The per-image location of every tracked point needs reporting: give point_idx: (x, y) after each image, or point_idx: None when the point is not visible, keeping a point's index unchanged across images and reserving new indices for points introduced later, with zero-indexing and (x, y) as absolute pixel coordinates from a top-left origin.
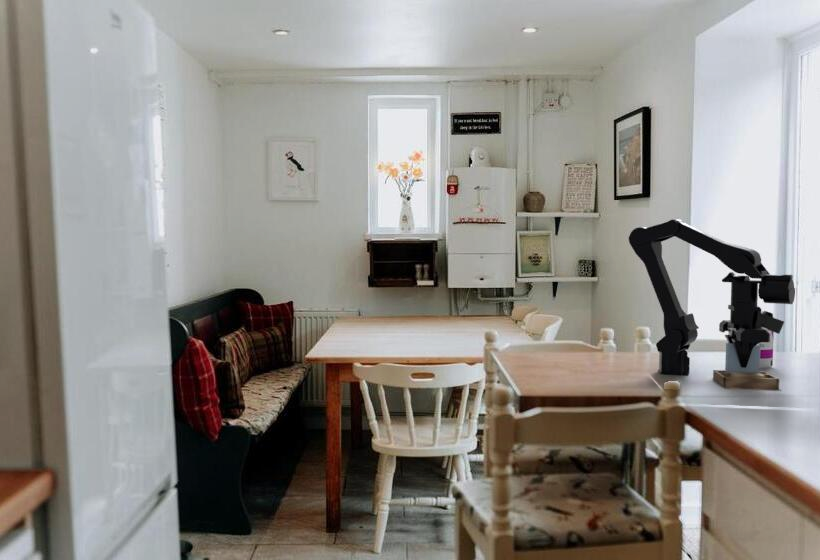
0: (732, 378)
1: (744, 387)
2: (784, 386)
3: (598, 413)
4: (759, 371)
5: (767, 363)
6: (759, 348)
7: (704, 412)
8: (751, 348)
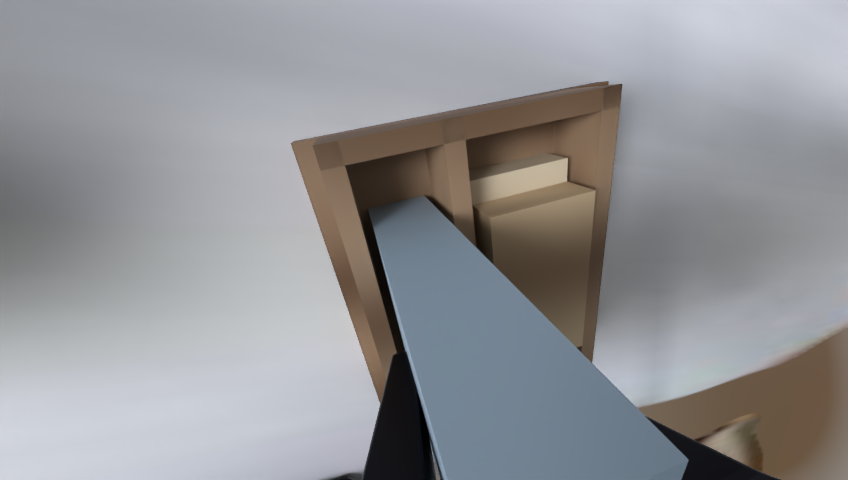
0: (588, 342)
1: None
2: (391, 4)
3: (758, 468)
4: (337, 206)
5: None
6: (612, 391)
7: (800, 339)
8: (722, 470)
